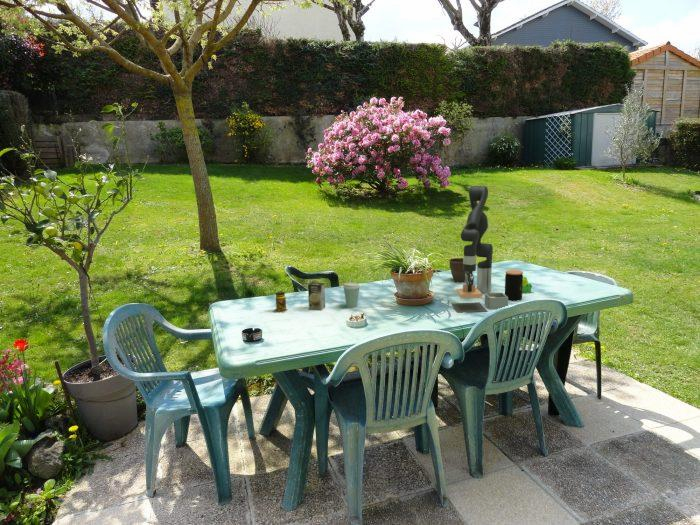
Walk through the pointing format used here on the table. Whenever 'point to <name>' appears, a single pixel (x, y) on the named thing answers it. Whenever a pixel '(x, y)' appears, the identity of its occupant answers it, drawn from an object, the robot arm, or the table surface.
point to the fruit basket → (526, 286)
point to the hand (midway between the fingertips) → (469, 290)
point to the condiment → (280, 302)
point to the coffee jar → (513, 284)
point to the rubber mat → (468, 307)
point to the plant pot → (457, 269)
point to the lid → (465, 294)
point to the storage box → (496, 300)
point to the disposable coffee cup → (351, 294)
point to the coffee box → (316, 295)
